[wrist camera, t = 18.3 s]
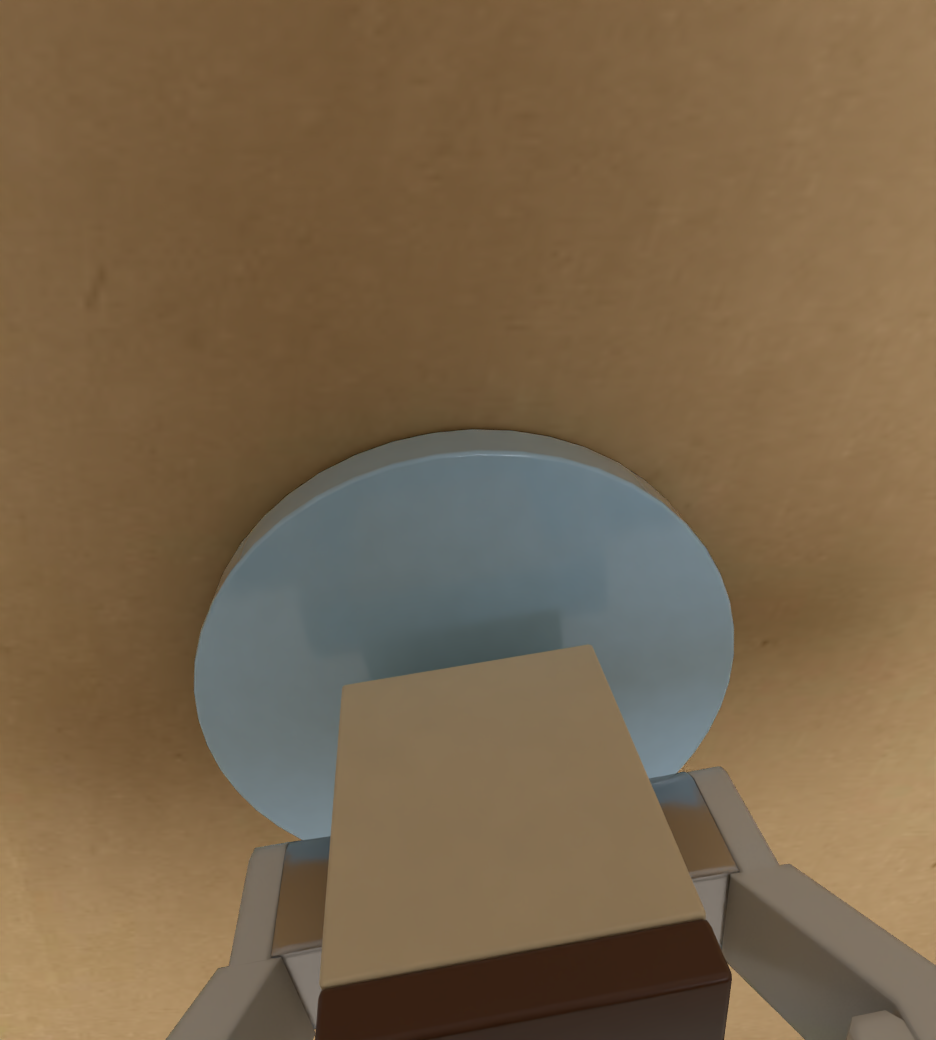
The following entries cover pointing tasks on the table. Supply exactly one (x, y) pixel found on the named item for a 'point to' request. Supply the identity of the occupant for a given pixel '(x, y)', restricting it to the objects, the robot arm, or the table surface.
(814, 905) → the robot arm
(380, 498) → the plate
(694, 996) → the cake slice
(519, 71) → the table surface
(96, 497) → the table surface
